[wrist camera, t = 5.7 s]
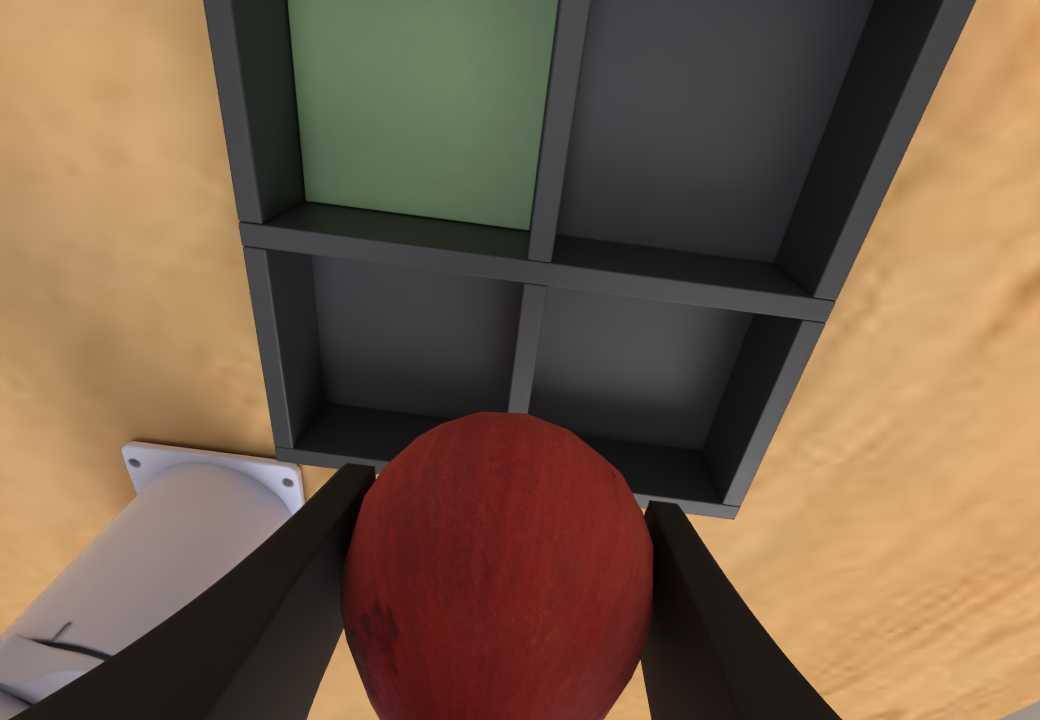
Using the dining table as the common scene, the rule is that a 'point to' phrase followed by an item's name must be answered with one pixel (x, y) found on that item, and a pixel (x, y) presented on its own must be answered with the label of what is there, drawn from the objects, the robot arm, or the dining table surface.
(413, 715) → the onion
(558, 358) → the divided tray
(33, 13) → the dining table surface
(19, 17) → the dining table surface
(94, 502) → the dining table surface
